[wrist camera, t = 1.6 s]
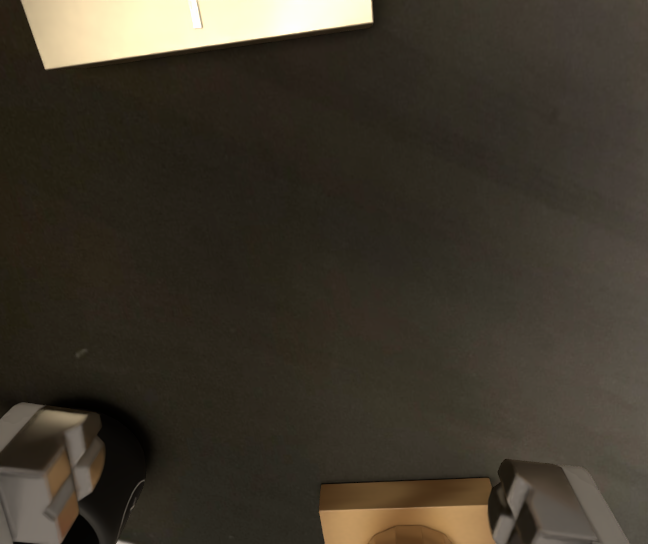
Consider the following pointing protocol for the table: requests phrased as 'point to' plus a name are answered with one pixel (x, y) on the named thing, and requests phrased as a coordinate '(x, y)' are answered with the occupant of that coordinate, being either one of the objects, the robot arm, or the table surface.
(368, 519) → the button block
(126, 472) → the mug
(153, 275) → the table surface
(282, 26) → the dial panel
